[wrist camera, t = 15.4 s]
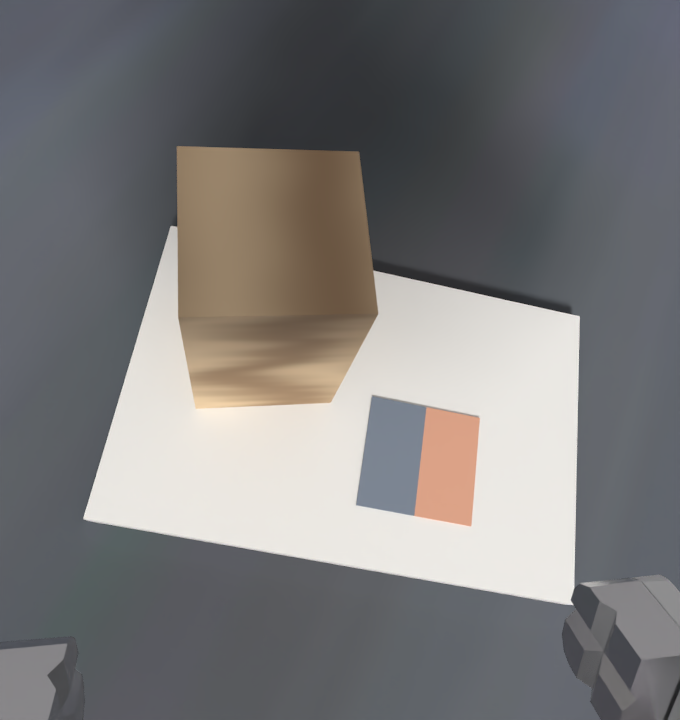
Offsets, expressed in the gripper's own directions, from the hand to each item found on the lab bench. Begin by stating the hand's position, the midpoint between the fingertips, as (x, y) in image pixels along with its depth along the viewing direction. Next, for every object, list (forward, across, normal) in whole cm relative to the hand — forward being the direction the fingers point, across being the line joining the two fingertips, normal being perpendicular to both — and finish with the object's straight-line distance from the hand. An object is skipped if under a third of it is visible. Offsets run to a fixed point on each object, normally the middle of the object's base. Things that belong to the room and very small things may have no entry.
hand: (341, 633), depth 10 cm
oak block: (+20, 0, +4) cm, 20 cm away
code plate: (+18, -4, +6) cm, 20 cm away
